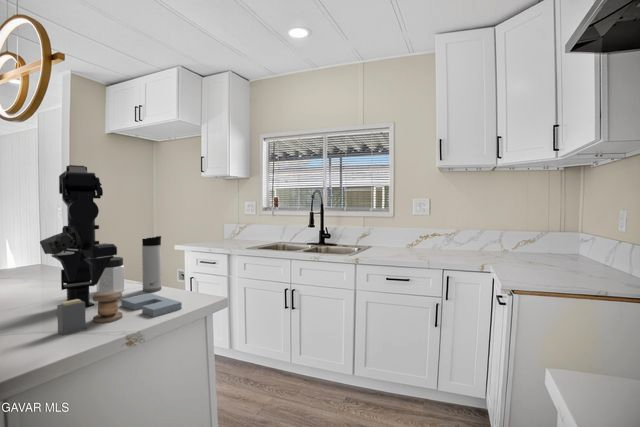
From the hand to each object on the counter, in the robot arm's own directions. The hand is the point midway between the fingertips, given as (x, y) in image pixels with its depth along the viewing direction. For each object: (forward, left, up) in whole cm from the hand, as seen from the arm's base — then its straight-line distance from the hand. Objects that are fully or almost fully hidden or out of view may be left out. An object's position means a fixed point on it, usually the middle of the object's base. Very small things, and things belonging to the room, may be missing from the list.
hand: (82, 282), depth 87 cm
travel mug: (-23, +32, -12) cm, 41 cm away
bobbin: (-4, +8, -12) cm, 15 cm away
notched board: (-4, +20, -12) cm, 24 cm away
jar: (-33, +22, -12) cm, 41 cm away
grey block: (-2, -2, -12) cm, 12 cm away
